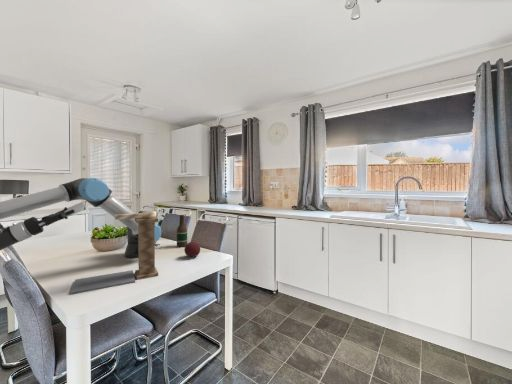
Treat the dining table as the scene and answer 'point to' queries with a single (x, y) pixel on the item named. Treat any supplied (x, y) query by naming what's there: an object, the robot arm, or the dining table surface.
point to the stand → (146, 248)
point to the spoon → (137, 215)
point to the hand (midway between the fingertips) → (83, 205)
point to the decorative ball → (192, 249)
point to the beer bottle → (181, 233)
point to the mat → (102, 281)
